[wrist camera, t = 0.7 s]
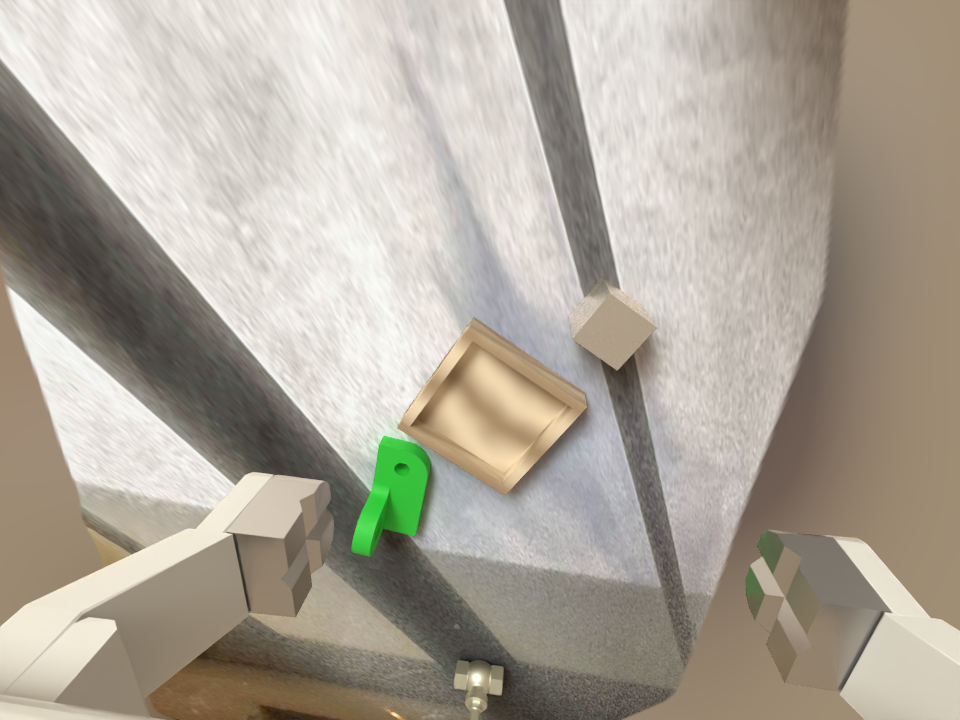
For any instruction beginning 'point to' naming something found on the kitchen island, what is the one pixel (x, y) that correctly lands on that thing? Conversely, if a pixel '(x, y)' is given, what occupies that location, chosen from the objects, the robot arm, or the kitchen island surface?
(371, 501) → the mechanical part
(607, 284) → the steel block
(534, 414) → the tray
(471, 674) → the valve
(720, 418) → the kitchen island surface
